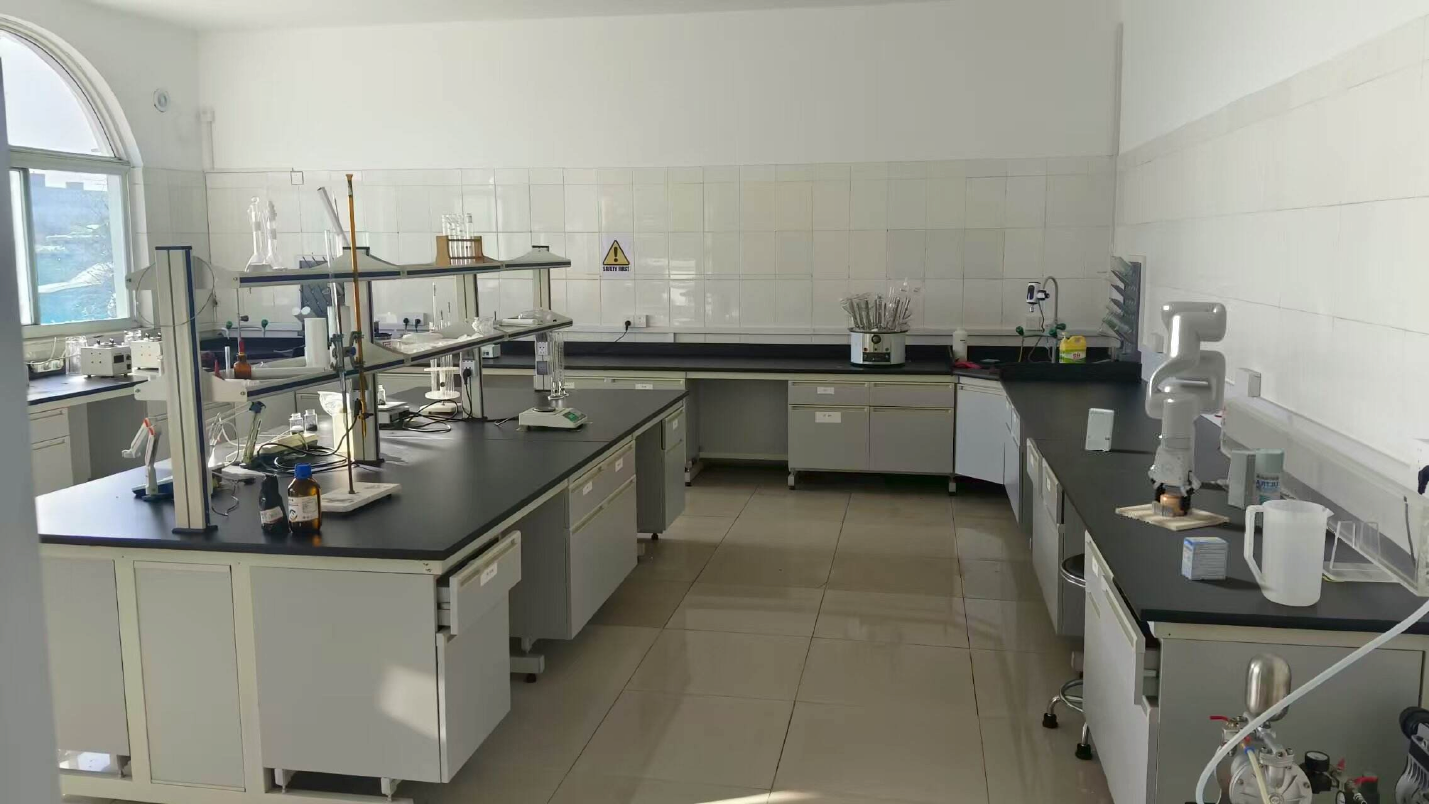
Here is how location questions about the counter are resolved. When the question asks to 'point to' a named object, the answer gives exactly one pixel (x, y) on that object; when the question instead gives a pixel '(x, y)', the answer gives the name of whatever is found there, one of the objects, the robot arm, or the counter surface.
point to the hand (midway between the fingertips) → (1172, 506)
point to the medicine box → (1204, 558)
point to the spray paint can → (1267, 477)
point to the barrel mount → (1171, 516)
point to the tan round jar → (1172, 502)
